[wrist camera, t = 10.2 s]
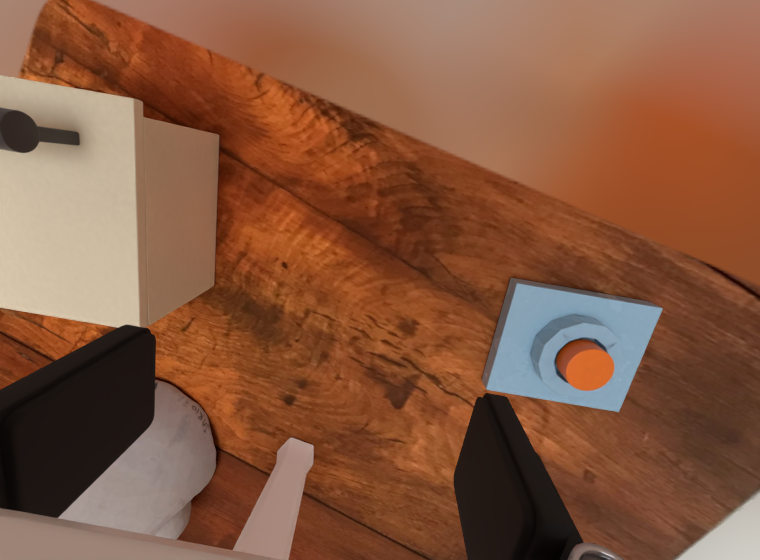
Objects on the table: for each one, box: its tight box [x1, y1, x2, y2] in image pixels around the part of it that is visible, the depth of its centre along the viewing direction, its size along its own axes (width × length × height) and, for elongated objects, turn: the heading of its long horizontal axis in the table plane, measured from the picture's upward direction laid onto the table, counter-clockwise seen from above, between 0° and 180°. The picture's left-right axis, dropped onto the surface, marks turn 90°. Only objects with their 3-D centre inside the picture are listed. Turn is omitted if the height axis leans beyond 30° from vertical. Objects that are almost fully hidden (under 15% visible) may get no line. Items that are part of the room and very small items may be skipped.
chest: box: [143, 117, 219, 326], centre depth 25 cm, size 13×12×9 cm
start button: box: [556, 339, 614, 391], centre depth 28 cm, size 4×4×2 cm
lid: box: [0, 75, 148, 328], centre depth 19 cm, size 13×12×5 cm
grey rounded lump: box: [58, 380, 216, 540], centre depth 33 cm, size 15×14×15 cm
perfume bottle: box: [233, 438, 314, 560], centre depth 29 cm, size 5×4×15 cm
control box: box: [482, 278, 663, 412], centre depth 30 cm, size 10×12×4 cm
